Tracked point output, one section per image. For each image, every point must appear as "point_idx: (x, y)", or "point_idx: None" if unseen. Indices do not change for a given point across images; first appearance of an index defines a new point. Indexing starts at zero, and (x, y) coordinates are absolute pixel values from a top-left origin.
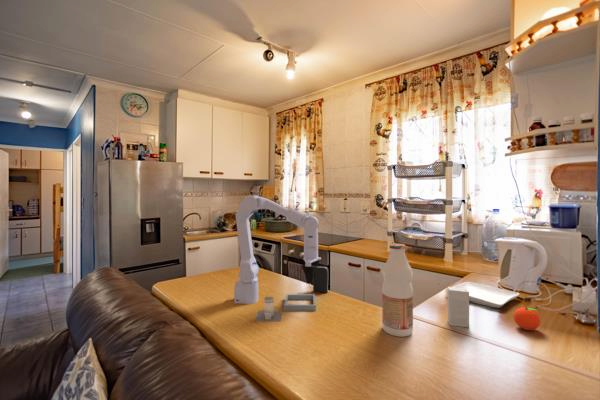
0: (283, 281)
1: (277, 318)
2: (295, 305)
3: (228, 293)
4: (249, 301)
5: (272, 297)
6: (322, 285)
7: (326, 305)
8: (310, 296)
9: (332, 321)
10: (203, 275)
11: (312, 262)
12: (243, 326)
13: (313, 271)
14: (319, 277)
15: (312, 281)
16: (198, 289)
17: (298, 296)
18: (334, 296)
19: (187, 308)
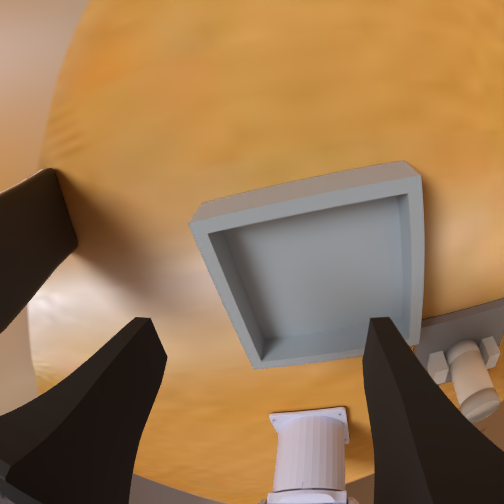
0: (62, 367)
1: (489, 320)
2: (422, 297)
3: (249, 460)
4: (342, 432)
5: (478, 407)
6: (35, 214)
7: (259, 107)
8: (217, 245)
9: (494, 59)
10: (160, 481)
11: (85, 497)
12: (495, 375)
13: (487, 445)
14: (9, 261)
15: (386, 328)
16: (246, 485)
17: (244, 311)
18: (82, 105)
19: (367, 474)
